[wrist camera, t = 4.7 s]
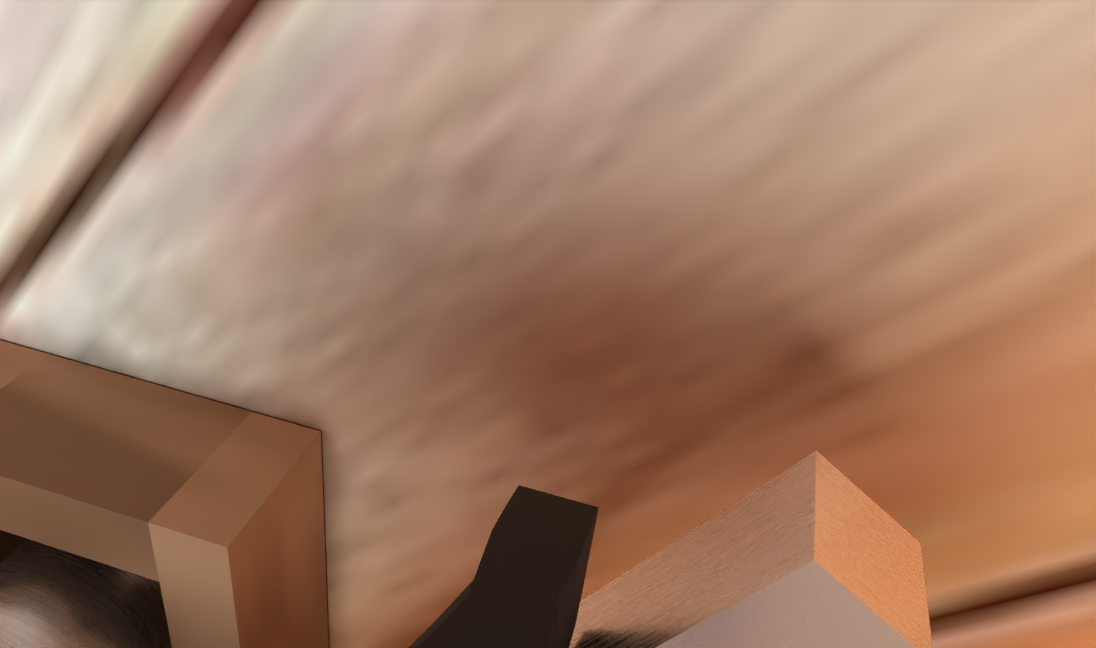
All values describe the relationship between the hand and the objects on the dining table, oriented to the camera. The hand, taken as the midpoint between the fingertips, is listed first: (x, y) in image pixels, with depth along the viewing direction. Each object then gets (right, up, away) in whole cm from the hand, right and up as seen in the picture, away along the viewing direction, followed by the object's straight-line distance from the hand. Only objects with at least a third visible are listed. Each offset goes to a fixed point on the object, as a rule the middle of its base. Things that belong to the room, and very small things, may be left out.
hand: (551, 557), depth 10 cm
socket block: (-8, -1, +8) cm, 12 cm away
